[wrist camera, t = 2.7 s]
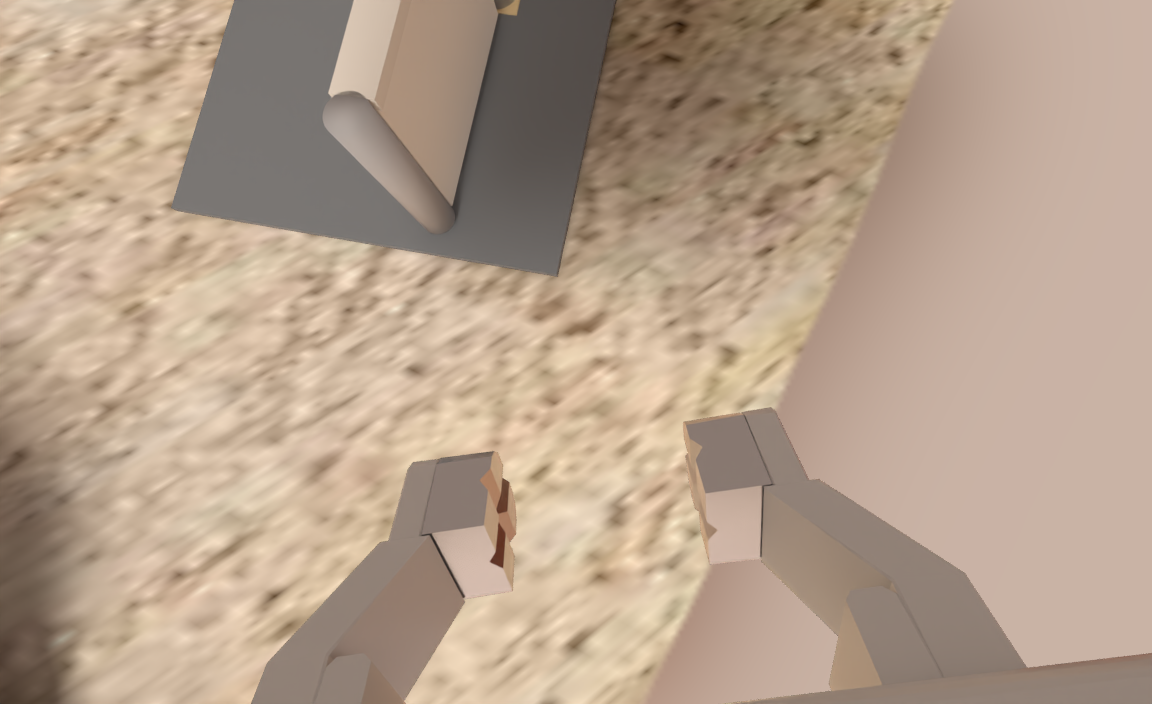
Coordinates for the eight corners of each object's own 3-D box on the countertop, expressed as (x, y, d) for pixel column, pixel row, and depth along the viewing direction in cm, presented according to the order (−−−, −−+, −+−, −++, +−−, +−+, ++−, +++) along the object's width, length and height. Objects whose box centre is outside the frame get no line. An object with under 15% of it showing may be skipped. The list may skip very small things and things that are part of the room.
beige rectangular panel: (418, 231, 27) (316, 133, 18) (471, 14, 28) (401, -174, 19) (450, 237, 27) (363, 140, 18) (502, 17, 28) (445, -171, 19)
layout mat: (177, 210, 29) (169, 206, 28) (303, -206, 32) (298, -216, 32) (557, 276, 27) (556, 273, 26) (654, -180, 30) (654, -190, 29)
